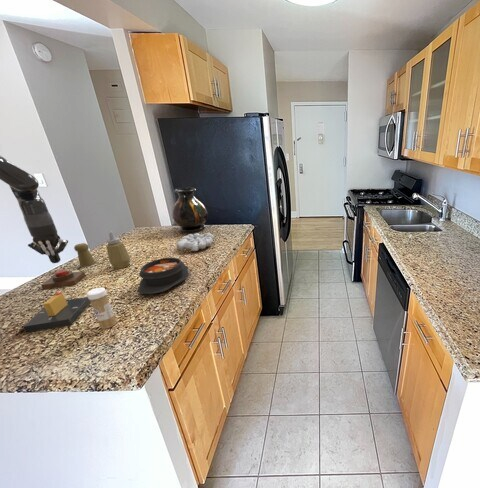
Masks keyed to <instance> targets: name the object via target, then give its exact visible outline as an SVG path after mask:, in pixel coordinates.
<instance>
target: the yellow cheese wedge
mask: <svg viewBox="0 0 480 488" xmlns="http://www.w3.org/2000/svg"><path fill="white" fill-rule="evenodd" d="M66 300H67V299H66V297H65V295H64V293H63V292H56V293H55V294H54V295H53V296H51V297H50V298H49V299H47V300H46V301H45V302H43V303H42V305H43V308H44V307H45V309H46V311H47V313H48V315H49V316H55V315H56V314H57V313H59V312H60V311H61V310H62V309H63V308H64V307H66V306H67V305H68V304H67V302H66Z"/></svg>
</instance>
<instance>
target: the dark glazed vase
mask: <svg viewBox="0 0 480 488" xmlns="http://www.w3.org/2000/svg"><path fill="white" fill-rule="evenodd" d="M196 191H197V189H196V188H195V187H180V188H175V189H174V191H173V192H174V193H176V194H177V195H178V198H177V201H175V203H174V205H173V207H172V210H171V218H172V221H173V222H174V224H175V225H177V226H178V227H179V231H180V232H181V233H184V234H194V233H199V232H201V231H204V230H205V229H206V228H207V226H206V224H205V223H206V222H207V220H208V217H209V214H208V211H207V208H206V206H205V205H204V203H202V201H200V200H199V199H198V198H197V197H195V194H194V193H195V192H196Z"/></svg>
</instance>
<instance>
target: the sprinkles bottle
mask: <svg viewBox="0 0 480 488" xmlns="http://www.w3.org/2000/svg"><path fill="white" fill-rule="evenodd" d="M107 295H108V293H107V290H106V288H105V287H96V288H93V289H90V290H89V291H87V292H86V297H88V299H89V300H90V302H91V303H90V304H91V306H92V310H93V312H94V315H95V317H96V320H97V321H98V324H99V328H100V329H102V330H105V329H109V328H113V327H114V326H115V325H116V324H117V322H118V321H117V318H116V316H115V313H114V310H113V308H112V304H111V302H110V300H109V298H108V297H109V296H107Z"/></svg>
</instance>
